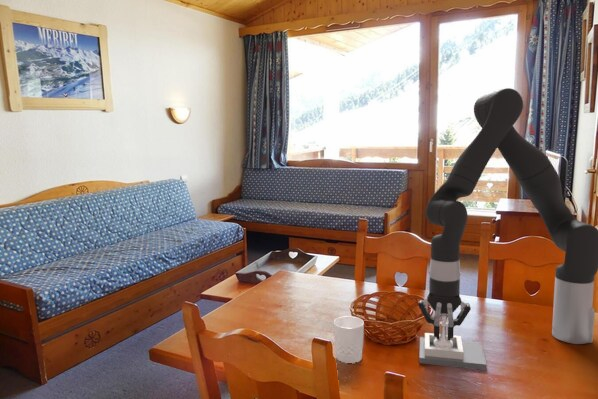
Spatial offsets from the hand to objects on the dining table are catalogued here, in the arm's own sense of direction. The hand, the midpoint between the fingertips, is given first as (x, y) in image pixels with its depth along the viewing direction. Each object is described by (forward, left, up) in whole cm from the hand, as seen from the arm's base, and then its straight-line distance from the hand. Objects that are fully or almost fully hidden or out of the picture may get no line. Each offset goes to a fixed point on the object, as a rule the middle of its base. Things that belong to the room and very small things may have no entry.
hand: (443, 338), depth 120 cm
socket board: (-2, 0, -4) cm, 5 cm away
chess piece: (0, 0, -2) cm, 2 cm away
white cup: (+24, +7, -5) cm, 26 cm away
